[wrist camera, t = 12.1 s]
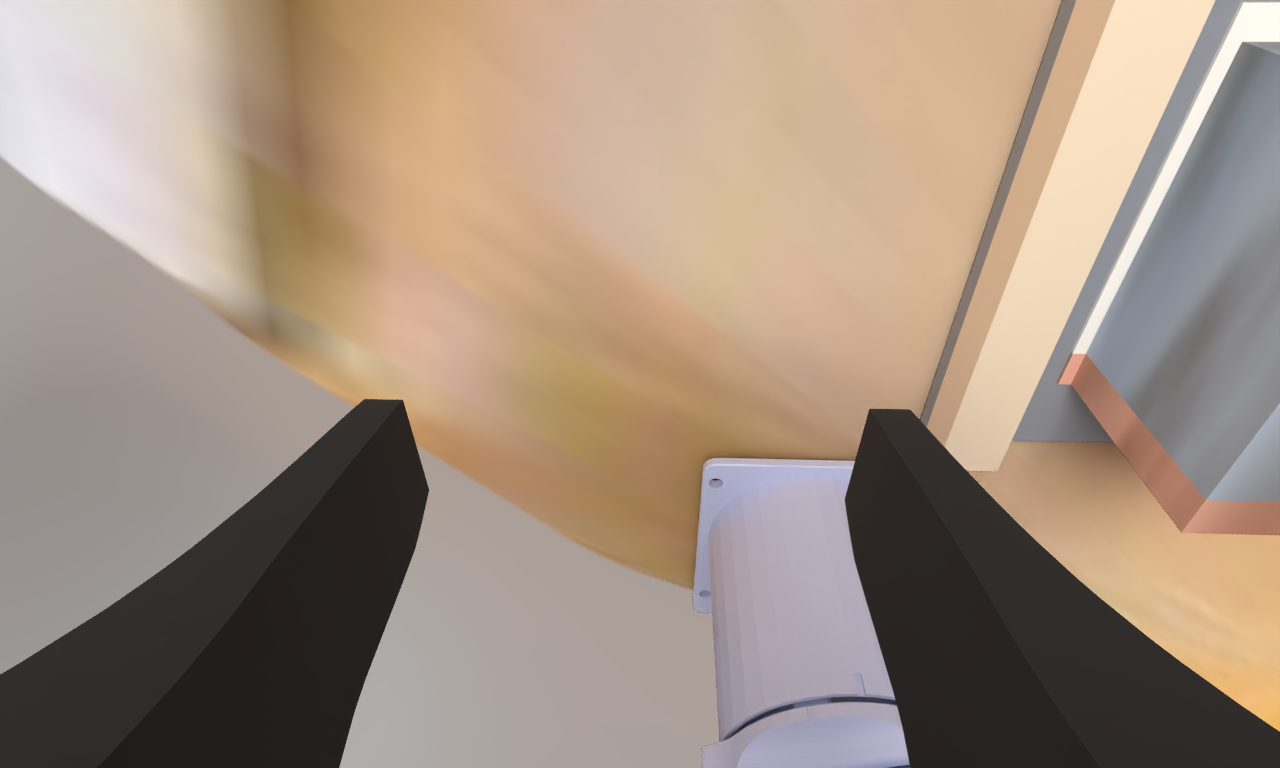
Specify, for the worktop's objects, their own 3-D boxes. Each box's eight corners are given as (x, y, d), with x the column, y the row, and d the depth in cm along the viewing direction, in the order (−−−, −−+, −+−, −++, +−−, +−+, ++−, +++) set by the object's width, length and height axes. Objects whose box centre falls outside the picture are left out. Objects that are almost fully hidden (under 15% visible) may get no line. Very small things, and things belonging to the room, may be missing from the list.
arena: (1294, 434, 24) (1341, 478, 22) (917, 426, 24) (936, 469, 22) (1823, -215, 13) (1989, -223, 11) (1133, -210, 13) (1198, -219, 12)
